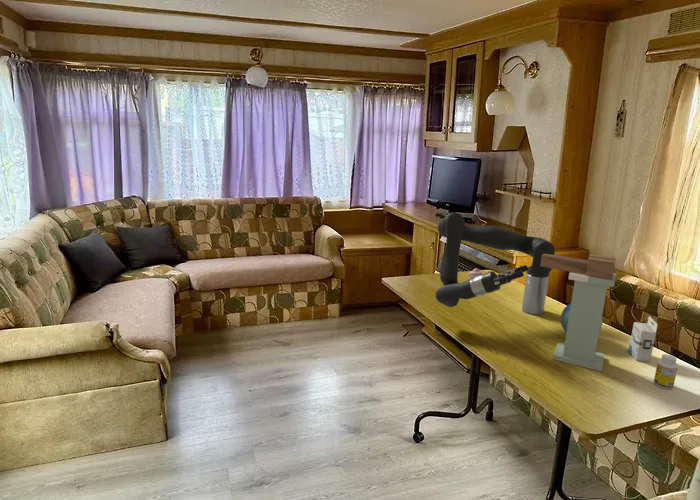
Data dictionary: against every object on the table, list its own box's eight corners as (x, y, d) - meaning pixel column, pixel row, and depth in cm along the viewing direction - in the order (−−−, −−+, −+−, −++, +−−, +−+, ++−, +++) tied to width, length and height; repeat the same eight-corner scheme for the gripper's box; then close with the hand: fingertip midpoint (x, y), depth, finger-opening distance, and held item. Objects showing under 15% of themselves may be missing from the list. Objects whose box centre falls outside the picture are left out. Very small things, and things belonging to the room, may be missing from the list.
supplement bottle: (654, 379, 165) (660, 351, 162) (674, 385, 161) (680, 356, 159) (651, 385, 161) (657, 356, 158) (671, 391, 157) (678, 362, 155)
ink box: (627, 350, 186) (634, 314, 182) (641, 352, 185) (649, 315, 181) (635, 360, 178) (643, 322, 174) (650, 362, 177) (658, 324, 173)
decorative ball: (595, 333, 201) (601, 298, 197) (602, 348, 186) (609, 311, 183) (555, 328, 204) (561, 293, 201) (560, 342, 190) (566, 306, 187)
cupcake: (472, 290, 248) (474, 271, 245) (461, 284, 256) (463, 266, 253) (487, 288, 251) (489, 269, 248) (476, 283, 259) (478, 264, 257)
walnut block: (542, 262, 181) (545, 247, 179) (612, 274, 170) (615, 257, 169) (539, 267, 174) (541, 251, 173) (611, 280, 163) (614, 262, 162)
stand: (557, 346, 186) (569, 265, 178) (604, 357, 179) (619, 273, 171) (552, 359, 176) (565, 273, 168) (601, 371, 169) (618, 282, 161)
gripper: (475, 279, 184) (516, 265, 175) (485, 270, 196) (524, 256, 187) (483, 298, 183) (525, 284, 175) (493, 288, 195) (533, 274, 187)
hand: (525, 270), depth 181 cm, fingers open, 8 cm apart
